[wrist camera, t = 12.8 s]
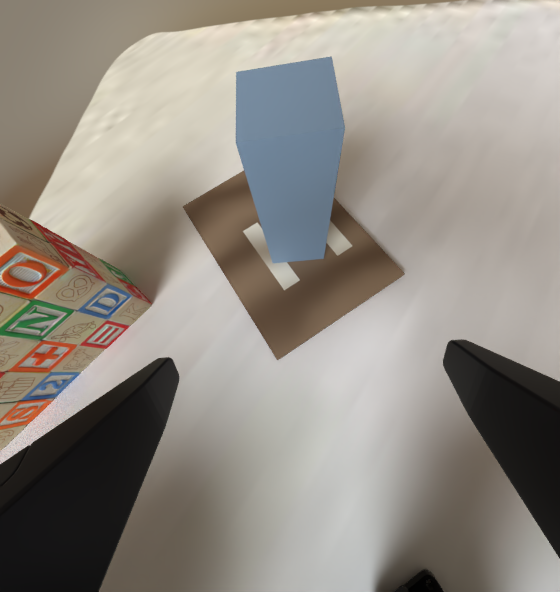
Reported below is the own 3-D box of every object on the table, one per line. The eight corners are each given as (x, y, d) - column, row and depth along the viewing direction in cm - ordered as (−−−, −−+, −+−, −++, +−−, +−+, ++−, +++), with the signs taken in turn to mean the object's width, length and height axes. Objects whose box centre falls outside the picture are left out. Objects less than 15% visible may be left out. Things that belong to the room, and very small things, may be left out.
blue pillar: (323, 258, 23) (344, 127, 11) (272, 263, 23) (235, 142, 11) (318, 215, 24) (331, 56, 12) (270, 220, 25) (236, 71, 12)
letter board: (402, 276, 22) (404, 273, 22) (278, 360, 21) (277, 359, 20) (286, 150, 28) (285, 145, 28) (185, 210, 27) (182, 206, 27)
